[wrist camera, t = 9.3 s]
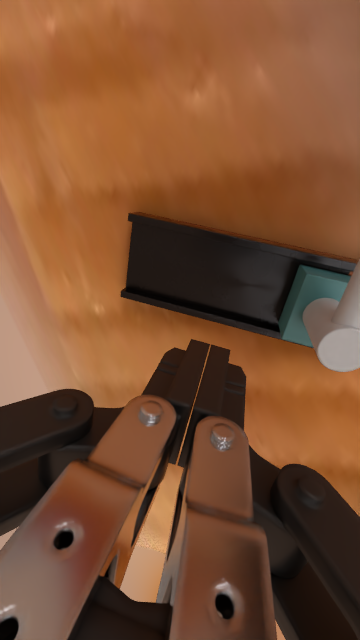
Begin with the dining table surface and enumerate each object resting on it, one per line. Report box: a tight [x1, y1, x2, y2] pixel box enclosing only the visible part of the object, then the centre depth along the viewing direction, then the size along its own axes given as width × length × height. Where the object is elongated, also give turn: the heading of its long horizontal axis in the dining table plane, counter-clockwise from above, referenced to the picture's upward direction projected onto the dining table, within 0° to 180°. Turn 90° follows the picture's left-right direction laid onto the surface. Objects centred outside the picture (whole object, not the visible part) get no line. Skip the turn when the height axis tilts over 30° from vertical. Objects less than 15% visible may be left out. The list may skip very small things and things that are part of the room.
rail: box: [121, 212, 359, 348], centre depth 22 cm, size 7×21×3 cm, turn 79°
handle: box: [278, 258, 360, 372], centre depth 17 cm, size 8×4×8 cm, turn 169°
